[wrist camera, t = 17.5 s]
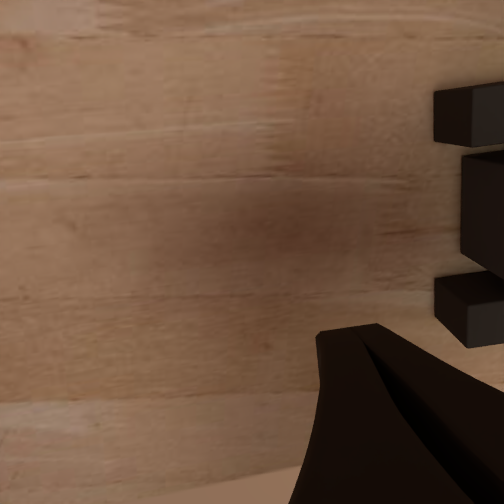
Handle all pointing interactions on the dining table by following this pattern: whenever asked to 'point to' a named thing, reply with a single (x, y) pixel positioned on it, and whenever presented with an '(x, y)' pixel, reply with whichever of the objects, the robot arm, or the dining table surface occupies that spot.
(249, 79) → the dining table surface
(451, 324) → the black u-shaped block
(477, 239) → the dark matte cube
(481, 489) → the robot arm
